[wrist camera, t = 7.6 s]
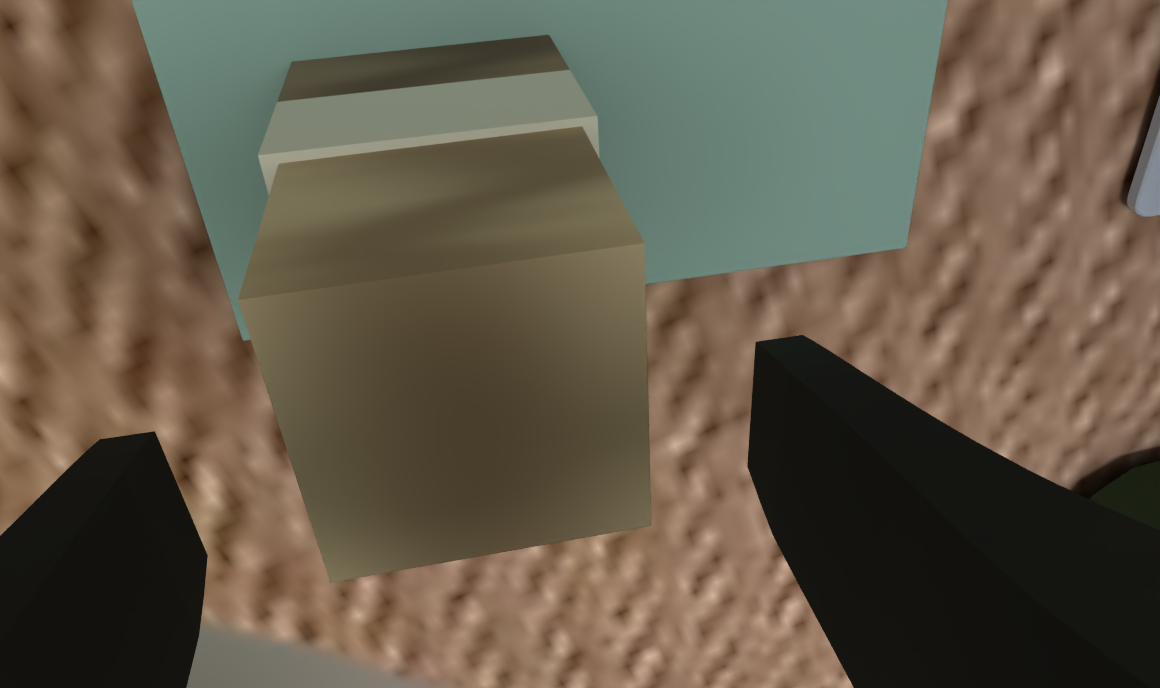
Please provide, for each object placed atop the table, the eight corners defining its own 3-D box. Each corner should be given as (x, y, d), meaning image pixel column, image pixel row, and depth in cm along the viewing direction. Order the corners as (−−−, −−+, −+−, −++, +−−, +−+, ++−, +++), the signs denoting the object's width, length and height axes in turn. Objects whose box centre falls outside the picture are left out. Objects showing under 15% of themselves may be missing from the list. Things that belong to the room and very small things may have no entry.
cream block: (570, 69, 15) (597, 115, 13) (584, 313, 18) (610, 382, 16) (277, 101, 15) (257, 155, 13) (340, 347, 17) (332, 425, 15)
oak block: (581, 126, 13) (644, 242, 10) (597, 367, 16) (651, 526, 12) (279, 163, 13) (237, 300, 9) (344, 407, 15) (330, 582, 12)
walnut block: (549, 34, 17) (570, 69, 15) (565, 257, 20) (584, 313, 18) (291, 61, 17) (277, 101, 15) (345, 287, 19) (340, 347, 17)
